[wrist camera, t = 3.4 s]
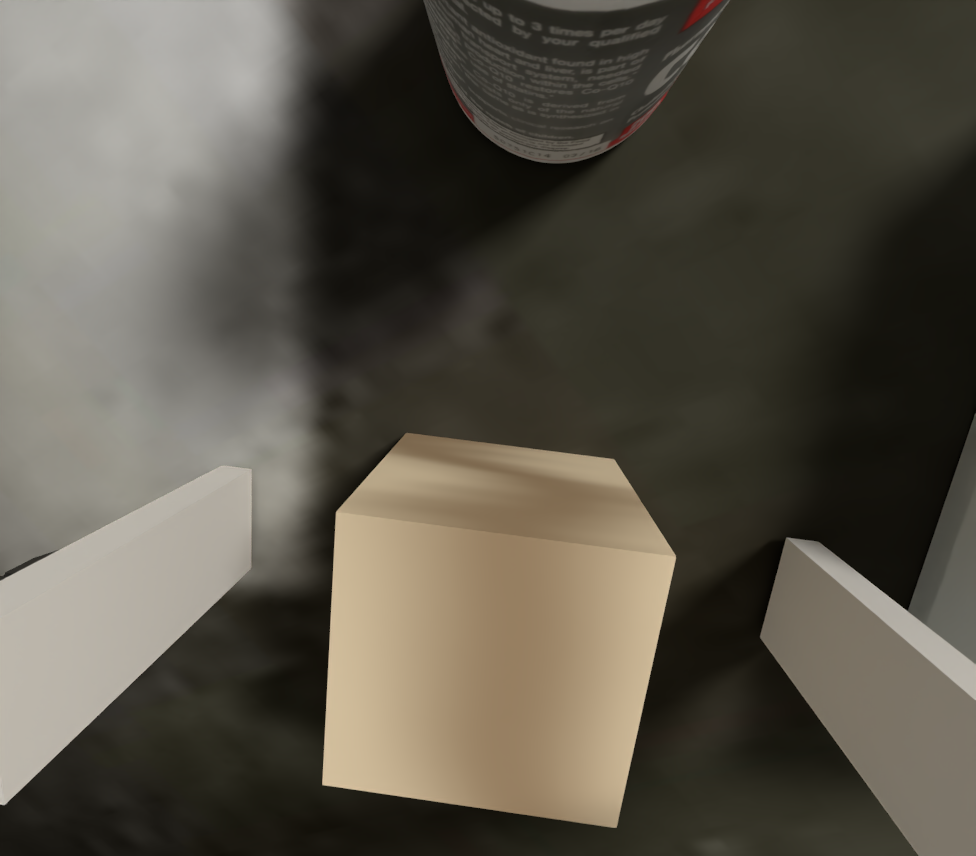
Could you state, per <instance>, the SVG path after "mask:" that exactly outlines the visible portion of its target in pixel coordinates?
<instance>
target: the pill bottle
mask: <svg viewBox="0 0 976 856" xmlns="http://www.w3.org/2000/svg"><path fill="white" fill-rule="evenodd" d="M423 1H424V4H425V7H426V11H427V14H428V18H429V21H430V24H431V27H432V30H433V34H434V37H435V40H436V44H437V47H438V50H439V53H440V57H441V61H442V64H443V67H444V70H445V73H446V76H447V79H448V81H449V84H450V86H451V89H452V91H453V93H454V95H455V97H456V99H457V101H458V103H459V105H460V107H461V108H462V110H463V111H464V113H465V114H466V116H467V117H468V118H469V120H470V121H471V122H472V123H473V124H474V125H475V127H476V128H477V129H478V130H479V131H480V132H481V133H482V134H483V135H485V136H486V137H487V138H488V139H490V140H491V141H492V142H494V143H495V144H497V145H498V146H500V147H501V148H503V149H505V150H507V151H509V152H511V153H513V154H515V155H517V156H520V157H522V158H526V159H529V160H532V161H537V162H543V163H570V162H576V161H580V160H584V159H588V158H591V157H593V156H596V155H599V154H601V153H603V152H605V151H607V150H609V149H611V148H613V147H614V146H616V145H618V144H619V143H621V142H622V141H624V140H625V139H626V138H628V137H629V136H630V135H631V134H633V133H634V132H635V131H636V130H637V129H638V128H639V127H640V126H641V125H642V124H643V123H644V122H645V121H646V120H647V119H648V117H649V116H650V115H651V114H652V113H653V112H654V110H655V109H656V108H657V107H658V105H659V104H660V103H661V102H662V100H663V99H664V98H665V96H666V94H667V92H668V91H669V89H670V88H671V86H672V85H673V83H674V82H675V80H676V79H677V77H678V76H679V74H680V73H681V71H682V70H683V68H684V67H685V65H686V64H687V62H688V61H689V59H690V58H691V57H692V55H693V54H694V52H695V51H696V49H697V48H698V46H699V45H700V43H701V42H702V40H703V39H704V38H705V36H706V35H707V33H708V32H709V30H710V29H711V27H712V26H713V24H714V23H715V21H716V20H717V18H718V17H719V16H720V14H721V13H722V11H723V10H724V8H725V7H726V5H727V4H728V2H729V1H730V0H423Z"/></svg>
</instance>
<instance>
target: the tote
mask: <svg viewBox="0 0 976 856" xmlns="http://www.w3.org/2000/svg"><path fill="white" fill-rule="evenodd" d="M908 612H909V613H910V614H912V615H913V616H914V617H916V618H917V619H918V620H919V621H921V622H922V623H923V624H925V625H926V626H927V627H928V628H930V629H931V630H932V631H933V632H935V633H936V634H937V635H939V636H940V637H941V638H942V639H944V640H945V641H946V642H948V643H949V644H950V645H951V646H953V647H954V648H955V649H956V650H958V651H959V652H960V653H962V654H963V655H964V656H965V657H967V658H968V659H969V660H971V661H972V662H973V663H974V664H976V413H975V415H974V418H973V421H972V424H971V427H970V430H969V433H968V436H967V439H966V442H965V445H964V448H963V451H962V454H961V456H960V459H959V462H958V465H957V468H956V471H955V474H954V477H953V480H952V483H951V486H950V489H949V492H948V494H947V497H946V500H945V503H944V506H943V509H942V512H941V515H940V518H939V521H938V524H937V527H936V530H935V532H934V535H933V538H932V541H931V544H930V547H929V550H928V553H927V556H926V559H925V562H924V565H923V568H922V570H921V573H920V576H919V579H918V582H917V585H916V588H915V591H914V594H913V597H912V600H911V603H910V606H909V608H908Z"/></svg>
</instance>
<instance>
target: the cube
mask: <svg viewBox="0 0 976 856" xmlns="http://www.w3.org/2000/svg"><path fill="white" fill-rule="evenodd" d="M675 560H676V556H675V554H674V552H673V551H672V549H671V548H670V546H669V545H668V543H667V541H666V540H665V538H664V537H663V535H662V534H661V532H660V530H659V529H658V527H657V526H656V524H655V523H654V521H653V519H652V518H651V516H650V515H649V513H648V512H647V510H646V508H645V507H644V505H643V504H642V502H641V501H640V499H639V498H638V496H637V494H636V493H635V491H634V490H633V488H632V487H631V485H630V483H629V482H628V480H627V479H626V477H625V476H624V474H623V472H622V471H621V469H620V468H619V466H618V465H617V463H616V461H615V460H614V459H608V458H600V457H592V456H584V455H576V454H569V453H561V452H553V451H545V450H537V449H529V448H521V447H514V446H506V445H498V444H490V443H482V442H474V441H466V440H459V439H451V438H443V437H435V436H427V435H419V434H411V433H406V434H405V435H404V436H403V437H402V438H401V439H400V440H399V442H398V443H397V444H396V445H395V446H394V447H393V448H392V449H391V451H390V452H389V453H388V454H387V455H386V456H385V457H384V458H383V460H382V461H381V462H380V463H379V464H378V465H377V466H376V467H375V469H374V470H373V471H372V472H371V473H370V474H369V475H368V476H367V478H366V479H365V480H364V481H363V482H362V483H361V484H360V485H359V487H358V488H357V489H356V490H355V491H354V492H353V493H352V494H351V496H350V497H349V498H348V499H347V500H346V501H345V502H344V503H343V505H342V506H341V507H340V508H339V509H338V510H337V511H336V523H335V543H334V563H333V583H332V603H331V622H330V642H329V662H328V682H327V702H326V722H325V742H324V762H323V782H322V785H326V786H333V787H340V788H346V789H353V790H360V791H367V792H374V793H381V794H387V795H394V796H401V797H408V798H415V799H421V800H428V801H435V802H442V803H449V804H456V805H462V806H469V807H476V808H483V809H490V810H496V811H503V812H510V813H517V814H524V815H531V816H537V817H544V818H551V819H558V820H565V821H571V822H578V823H585V824H592V825H599V826H605V827H612V828H616V827H617V823H618V818H619V814H620V809H621V804H622V800H623V795H624V791H625V786H626V782H627V777H628V773H629V768H630V764H631V759H632V755H633V750H634V746H635V741H636V737H637V732H638V728H639V723H640V718H641V714H642V709H643V705H644V700H645V696H646V691H647V687H648V682H649V678H650V673H651V669H652V664H653V660H654V655H655V651H656V646H657V641H658V637H659V632H660V628H661V623H662V619H663V614H664V610H665V605H666V601H667V596H668V592H669V587H670V583H671V578H672V574H673V569H674V565H675Z"/></svg>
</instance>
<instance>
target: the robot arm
mask: <svg viewBox="0 0 976 856" xmlns="http://www.w3.org/2000/svg"><path fill="white" fill-rule="evenodd" d="M251 521H252V469H247V468H239V467H231V466H224V465H222V466H220V467H218V468H216V469H214V470H212V471H210V472H208V473H206V474H204V475H202V476H201V477H199V478H197V479H195V480H193V481H191V482H189V483H187V484H185V485H183V486H181V487H179V488H177V489H176V490H174V491H172V492H170V493H168V494H166V495H164V496H162V497H160V498H158V499H156V500H154V501H152V502H151V503H149V504H147V505H145V506H143V507H141V508H139V509H137V510H135V511H133V512H131V513H129V514H128V515H126V516H124V517H122V518H120V519H118V520H116V521H114V522H112V523H110V524H108V525H106V526H104V527H103V528H101V529H99V530H97V531H95V532H93V533H91V534H89V535H87V536H85V537H83V538H81V539H79V540H78V541H76V542H74V543H72V544H70V545H68V546H66V547H64V548H62V549H60V550H57V551H54V552H51V553H48V554H45V555H42V556H39V557H35V558H33V559H31V560H29V561H27V562H25V563H23V564H21V565H19V566H17V567H15V568H13V569H12V570H10V571H8V572H6V573H5V575H4V576H0V804H1V805H5V804H6V803H7V802H8V801H9V800H10V799H11V798H12V797H14V796H15V795H16V794H17V793H18V792H19V791H20V790H21V789H22V788H23V787H24V786H25V785H26V784H27V783H28V782H29V781H30V780H31V779H32V778H33V777H34V776H35V775H36V774H38V773H39V772H40V771H41V770H42V769H43V768H44V767H45V766H46V765H47V764H48V763H49V762H50V761H51V760H52V759H53V758H54V757H55V756H56V755H57V754H58V753H59V752H60V751H61V750H63V749H64V748H65V747H66V746H67V745H68V744H69V743H70V742H71V741H72V740H73V739H74V738H75V737H76V736H77V735H78V734H79V733H80V732H81V731H82V730H83V729H84V728H85V727H87V726H88V725H89V724H90V723H91V722H92V721H93V720H94V719H95V718H96V717H97V716H98V715H99V714H100V713H101V712H102V711H103V710H104V709H105V708H106V707H107V706H108V705H109V704H110V703H112V702H113V701H114V700H115V699H116V698H117V697H118V696H119V695H120V694H121V693H122V692H123V691H124V690H125V689H126V688H127V687H128V686H129V685H130V684H131V683H132V682H133V681H134V680H136V679H137V678H138V677H139V676H140V675H141V674H142V673H143V672H144V671H145V670H146V669H147V668H148V667H149V666H150V665H151V664H152V663H153V662H154V661H155V660H156V659H157V658H158V657H160V656H161V655H162V654H163V653H164V652H165V651H166V650H167V649H168V648H169V647H170V646H171V645H172V644H173V643H174V642H175V641H176V640H177V639H178V638H179V637H180V636H181V635H182V634H183V633H185V632H186V631H187V630H188V629H189V628H190V627H191V626H192V625H193V624H194V623H195V622H196V621H197V620H198V619H199V618H200V617H201V616H202V615H203V614H204V613H205V612H206V611H207V610H209V609H210V608H211V607H212V606H213V605H214V604H215V603H216V602H217V601H218V600H219V599H220V598H221V597H222V596H223V595H224V594H225V593H226V592H227V591H228V590H229V589H230V588H231V587H232V586H234V585H235V584H236V583H237V582H238V581H239V580H240V579H241V578H242V577H243V576H244V575H245V574H246V573H247V572H248V571H249V570H250V569H251ZM760 638H761V640H762V641H763V642H764V644H765V645H766V646H767V648H768V649H769V651H770V652H771V653H772V655H773V656H774V657H775V659H776V660H777V662H778V663H779V664H780V666H781V667H782V668H783V670H784V671H785V673H786V674H787V675H788V677H789V678H790V679H791V681H792V682H793V684H794V685H795V686H796V688H797V689H798V690H799V692H800V693H801V695H802V696H803V697H804V699H805V700H806V701H807V703H808V704H809V706H810V707H811V708H812V710H813V711H814V712H815V714H816V715H817V717H818V718H819V719H820V721H821V722H822V723H823V725H824V726H825V728H826V729H827V730H828V732H829V733H830V734H831V736H832V737H833V739H834V740H835V741H836V743H837V744H838V745H839V747H840V748H841V750H842V751H843V752H844V754H845V755H846V756H847V758H848V759H849V761H850V762H851V763H852V765H853V766H854V767H855V769H856V770H857V772H858V773H859V774H860V776H861V777H862V778H863V780H864V781H865V783H866V784H867V785H868V787H869V788H870V789H871V791H872V792H873V794H874V795H875V796H876V798H877V799H878V800H879V802H880V803H881V805H882V806H883V807H884V809H885V810H886V811H887V813H888V814H889V816H890V817H891V818H892V820H893V821H894V822H895V824H896V825H897V827H898V828H899V829H900V831H901V832H902V833H903V835H904V836H905V838H906V839H907V840H908V842H909V843H910V844H911V846H912V847H913V849H914V850H915V851H916V853H917V854H918V855H919V856H976V664H974V663H973V662H972V661H971V660H969V659H968V658H967V657H965V656H964V655H963V654H962V653H960V652H959V651H958V650H956V649H955V648H954V647H953V646H951V645H950V644H949V643H948V642H946V641H945V640H944V639H942V638H941V637H940V636H939V635H937V634H936V633H935V632H933V631H932V630H931V629H930V628H928V627H927V626H926V625H925V624H923V623H922V622H921V621H919V620H918V619H917V618H916V617H914V616H913V615H912V614H910V613H909V612H908V611H907V610H905V609H904V608H903V607H901V606H900V605H899V604H898V603H896V602H895V601H894V600H893V599H891V598H890V597H889V596H887V595H886V594H885V593H884V592H882V591H881V590H880V589H878V588H877V587H876V586H875V585H873V584H872V583H871V582H869V581H868V580H867V579H866V578H864V577H863V576H862V575H861V574H859V573H858V572H857V571H855V570H854V569H853V568H852V567H850V566H849V565H848V564H846V563H845V562H844V561H843V560H841V559H840V558H839V557H837V556H836V555H835V554H834V553H832V552H831V551H830V550H829V549H827V548H826V547H825V546H823V545H822V544H821V543H820V542H817V541H809V540H802V539H794V538H786V541H785V544H784V548H783V552H782V556H781V559H780V563H779V567H778V571H777V574H776V578H775V582H774V586H773V589H772V593H771V597H770V601H769V604H768V608H767V612H766V616H765V620H764V623H763V627H762V631H761V635H760Z"/></svg>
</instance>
